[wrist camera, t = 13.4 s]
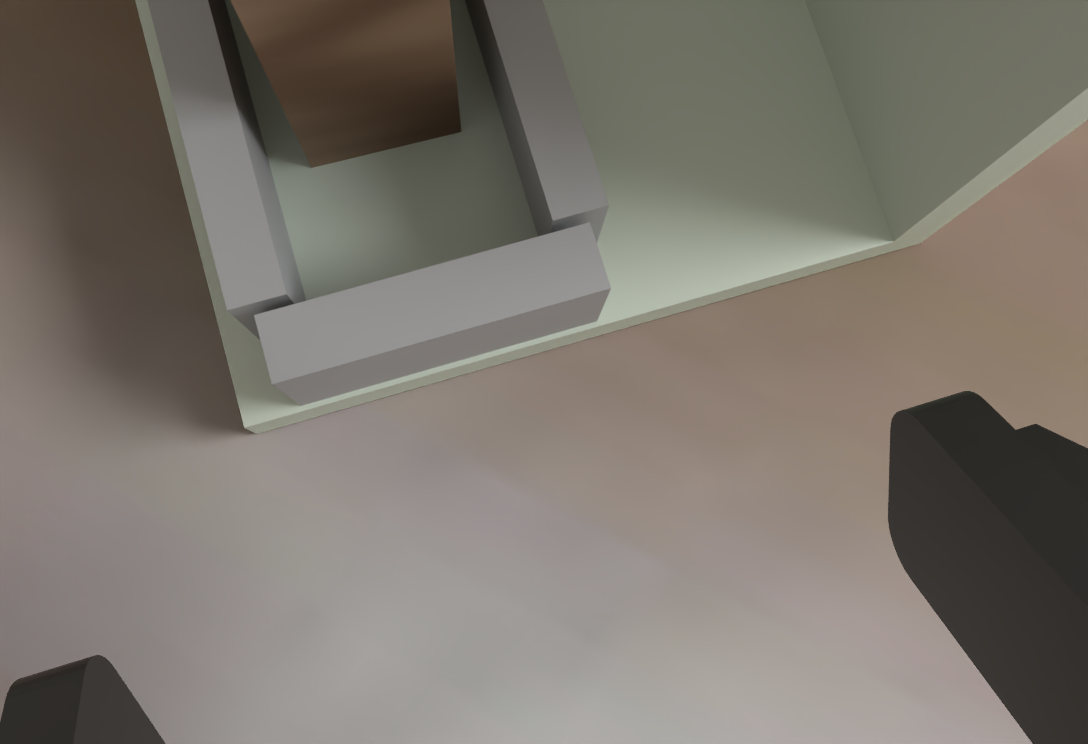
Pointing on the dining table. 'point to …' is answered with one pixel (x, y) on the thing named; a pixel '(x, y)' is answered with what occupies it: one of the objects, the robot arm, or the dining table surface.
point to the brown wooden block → (357, 71)
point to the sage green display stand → (593, 173)
